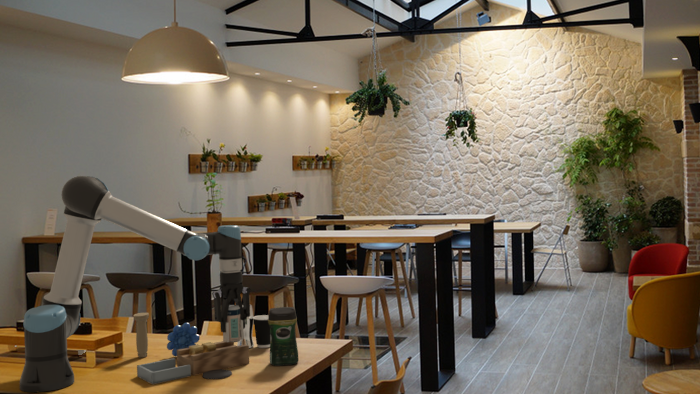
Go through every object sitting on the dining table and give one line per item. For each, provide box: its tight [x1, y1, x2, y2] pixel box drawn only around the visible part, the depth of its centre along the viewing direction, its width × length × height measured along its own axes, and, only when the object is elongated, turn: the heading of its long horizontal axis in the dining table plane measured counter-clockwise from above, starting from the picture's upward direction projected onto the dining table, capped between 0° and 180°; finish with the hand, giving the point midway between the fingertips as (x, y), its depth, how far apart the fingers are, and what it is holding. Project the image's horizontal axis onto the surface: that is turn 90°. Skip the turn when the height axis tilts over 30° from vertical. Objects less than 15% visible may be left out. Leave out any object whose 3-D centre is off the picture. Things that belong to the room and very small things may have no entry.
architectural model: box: [77, 350, 86, 355], centre depth 238 cm, size 3×7×7 cm, turn 9°
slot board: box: [176, 340, 250, 376], centre depth 220 cm, size 20×12×6 cm, turn 129°
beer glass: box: [236, 304, 255, 349], centre depth 244 cm, size 7×7×15 cm
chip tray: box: [136, 357, 192, 385], centre depth 209 cm, size 12×12×4 cm
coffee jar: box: [268, 306, 299, 367], centre depth 221 cm, size 10×8×19 cm
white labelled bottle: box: [226, 304, 241, 343], centre depth 224 cm, size 5×5×12 cm
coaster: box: [202, 369, 233, 380], centre depth 208 cm, size 9×9×1 cm
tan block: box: [201, 342, 216, 353], centre depth 219 cm, size 3×4×3 cm
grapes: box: [166, 322, 201, 357], centre depth 234 cm, size 12×7×12 cm, turn 89°
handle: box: [133, 312, 150, 359], centre depth 234 cm, size 5×6×15 cm
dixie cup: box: [253, 314, 270, 349], centre depth 245 cm, size 8×8×11 cm
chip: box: [189, 344, 203, 355], centre depth 216 cm, size 3×4×3 cm
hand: (233, 339), depth 225 cm, fingers closed on white labelled bottle, 5 cm apart
